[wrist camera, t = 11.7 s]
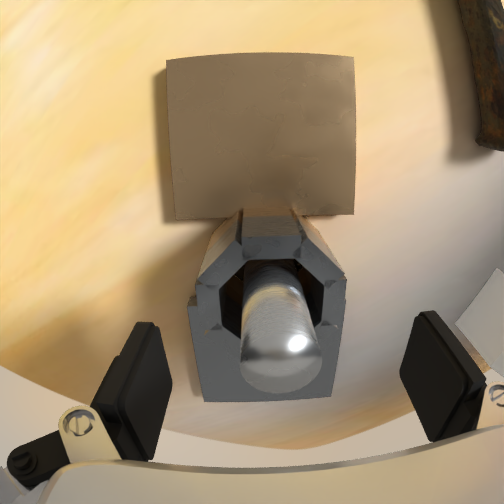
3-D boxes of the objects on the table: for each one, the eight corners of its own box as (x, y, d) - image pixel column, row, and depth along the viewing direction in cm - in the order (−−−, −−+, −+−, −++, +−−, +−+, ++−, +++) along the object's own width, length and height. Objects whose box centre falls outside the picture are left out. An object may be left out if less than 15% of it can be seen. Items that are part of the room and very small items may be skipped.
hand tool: (504, 148, 17) (546, 158, 13) (468, 146, 17) (512, 155, 13) (456, -64, 10) (485, -83, 6) (416, -78, 10) (443, -102, 6)
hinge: (347, 61, 15) (388, 35, 10) (328, 386, 24) (342, 443, 18) (171, 64, 15) (136, 38, 10) (205, 391, 24) (197, 450, 18)
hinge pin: (290, 232, 19) (325, 330, 10) (290, 274, 20) (318, 390, 11) (243, 233, 19) (237, 335, 10) (245, 276, 20) (241, 394, 11)
